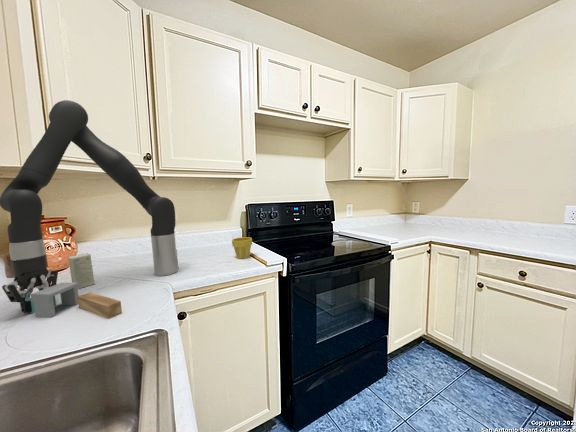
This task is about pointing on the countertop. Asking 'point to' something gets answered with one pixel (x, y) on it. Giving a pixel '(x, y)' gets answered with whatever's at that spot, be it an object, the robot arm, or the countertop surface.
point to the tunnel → (45, 298)
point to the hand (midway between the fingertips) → (37, 308)
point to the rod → (100, 305)
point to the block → (33, 304)
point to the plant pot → (242, 247)
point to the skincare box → (81, 270)
